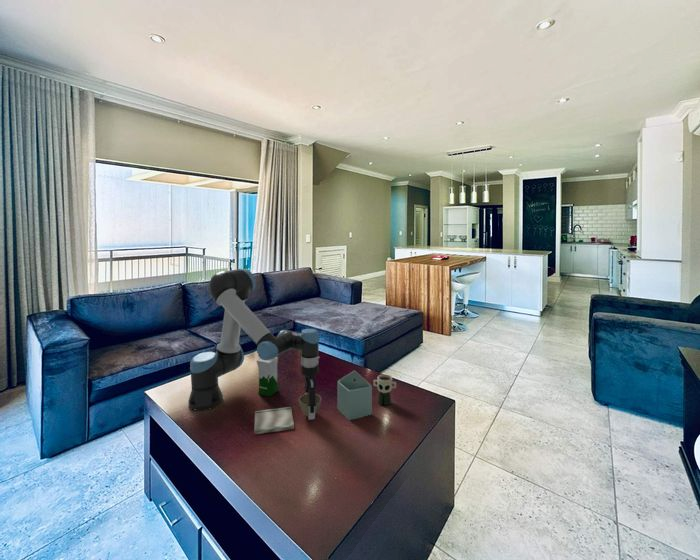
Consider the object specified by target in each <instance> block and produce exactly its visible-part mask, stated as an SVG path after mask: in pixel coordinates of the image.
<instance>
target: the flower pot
mask: <svg viewBox="0 0 700 560" xmlns="http://www.w3.org/2000/svg"><path fill="white" fill-rule="evenodd" d="M315 399H316V406H315V415H316V414H317V413H318V411H319V409H320V407H321V403H322V397H321V396H320V395H319V394H316V393H315ZM298 403H299V408H300V409H301V412H302V414H303V415H304V416H305V417H307V418H309V417H308V406H307V405H309V396H308V394H305V393H304V394H303V395H300V397H298Z"/></svg>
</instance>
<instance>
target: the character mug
mask: <svg viewBox="0 0 700 560" xmlns="http://www.w3.org/2000/svg"><path fill="white" fill-rule="evenodd" d="M376 383H377V384H376ZM372 384H373V387H377V390H378V396H377V397H378V398H377V403H378V404H380V405H381V404H382V405H385V406H388V405H387V404H389V405H391V402H392V400H391V399H392V397H391V391H392V389H397V382H396V381H393V377H392V375H391V374H386V373H385V374H379V375H378V376H377V379H373V383H372Z"/></svg>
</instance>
